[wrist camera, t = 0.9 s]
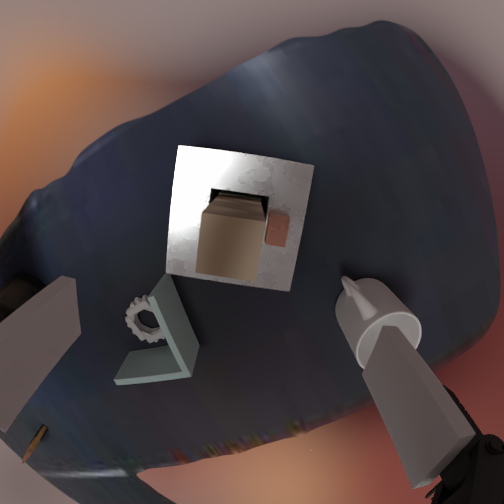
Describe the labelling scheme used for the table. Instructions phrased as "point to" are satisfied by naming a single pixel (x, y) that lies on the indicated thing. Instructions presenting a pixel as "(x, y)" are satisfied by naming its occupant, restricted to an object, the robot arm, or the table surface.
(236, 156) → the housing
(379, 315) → the mug
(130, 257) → the table surface
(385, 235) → the table surface
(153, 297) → the right angle wall
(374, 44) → the table surface
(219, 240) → the column
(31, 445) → the ammunition clip
